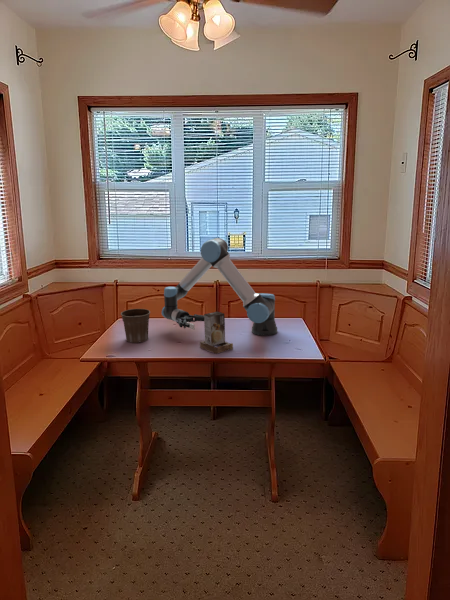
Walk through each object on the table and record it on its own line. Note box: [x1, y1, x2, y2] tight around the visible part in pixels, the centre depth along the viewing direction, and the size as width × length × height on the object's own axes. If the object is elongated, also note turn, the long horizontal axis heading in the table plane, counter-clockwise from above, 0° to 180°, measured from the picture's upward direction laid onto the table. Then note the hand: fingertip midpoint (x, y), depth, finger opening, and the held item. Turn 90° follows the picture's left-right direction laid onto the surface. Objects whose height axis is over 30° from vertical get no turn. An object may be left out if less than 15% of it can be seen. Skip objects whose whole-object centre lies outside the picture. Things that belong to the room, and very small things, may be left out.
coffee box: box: [203, 311, 226, 346], centre depth 232 cm, size 9×6×16 cm
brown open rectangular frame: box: [199, 340, 234, 355], centre depth 234 cm, size 11×15×3 cm
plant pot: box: [120, 308, 151, 344], centre depth 248 cm, size 16×16×16 cm
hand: (204, 324), depth 239 cm, fingers open, 13 cm apart
